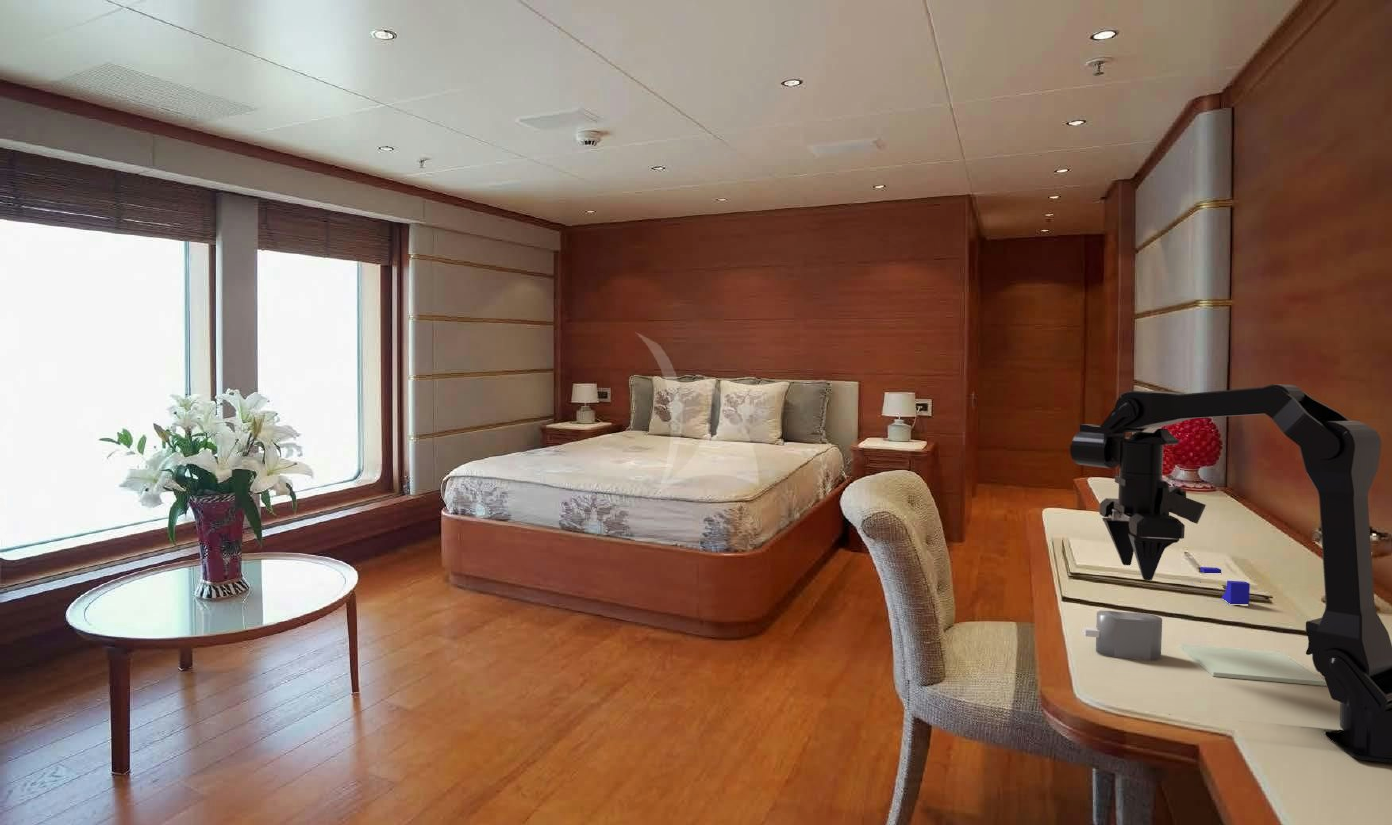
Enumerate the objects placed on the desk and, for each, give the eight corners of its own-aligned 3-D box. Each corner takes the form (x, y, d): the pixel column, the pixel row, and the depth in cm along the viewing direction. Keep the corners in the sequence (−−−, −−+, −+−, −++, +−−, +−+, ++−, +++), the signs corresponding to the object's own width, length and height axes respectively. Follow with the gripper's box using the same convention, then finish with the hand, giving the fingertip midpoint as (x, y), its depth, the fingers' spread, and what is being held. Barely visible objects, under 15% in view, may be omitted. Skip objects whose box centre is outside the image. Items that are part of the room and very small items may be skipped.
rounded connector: (1165, 661, 114) (1166, 621, 114) (1087, 654, 116) (1088, 616, 116) (1155, 651, 118) (1156, 614, 117) (1080, 645, 120) (1081, 608, 120)
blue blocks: (1191, 596, 149) (1192, 566, 149) (1216, 597, 149) (1217, 567, 148) (1220, 614, 138) (1222, 582, 137) (1248, 616, 137) (1249, 583, 137)
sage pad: (1327, 685, 105) (1327, 681, 105) (1213, 676, 108) (1213, 672, 108) (1281, 655, 116) (1281, 651, 116) (1180, 647, 120) (1180, 643, 120)
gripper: (1228, 482, 105) (1223, 592, 106) (1174, 467, 123) (1170, 561, 124) (1140, 479, 107) (1135, 587, 108) (1100, 464, 126) (1096, 557, 126)
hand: (1136, 572), depth 117 cm, fingers open, 9 cm apart
